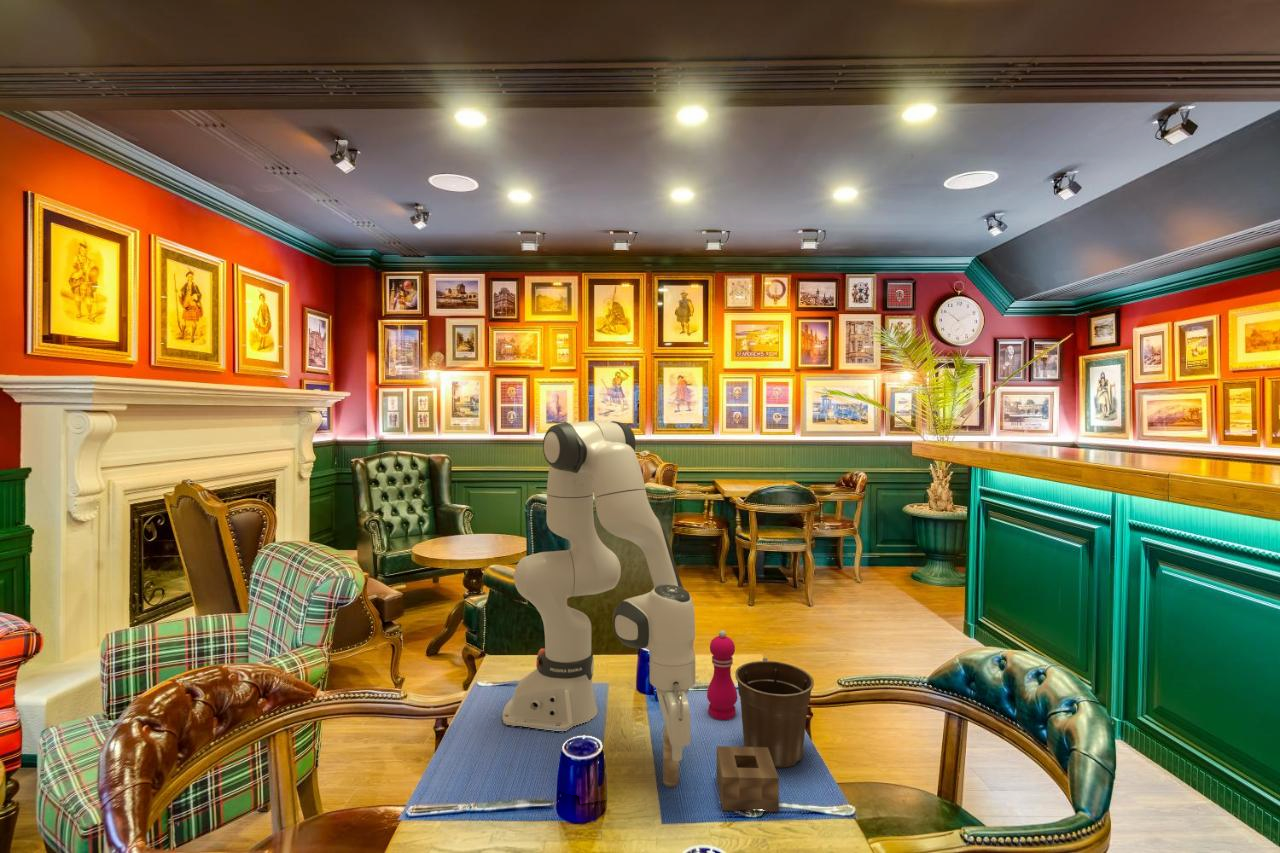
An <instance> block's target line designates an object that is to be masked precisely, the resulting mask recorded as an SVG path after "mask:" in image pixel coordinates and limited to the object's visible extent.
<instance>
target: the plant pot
mask: <svg viewBox="0 0 1280 853" xmlns="http://www.w3.org/2000/svg"><path fill="white" fill-rule="evenodd" d="M734 672H735V673H734V674H735V680H736V681H737V689H738V692H737V693H738V696H739V698H740V699H739V700H740V709H741V721H742V722H741V723H742V724H741V725H742V736H743V737H742V738H743V747H768V749H769V752H770V755H771V758H772V760H773V763H774V766H775V769H776V768H778V769H781V768H789V767H793V766H795V765H796V764H797V763H798V762H800V761H802V759H803V754H804V742H805V732H806V724H807V715H808V707H809V705H810V701H811V696H812V695H811V694H812V693H811V692H812V690H813V688H814V686H815V681H814V678H813V676H812V675H811V674H810V673H809V672H807V671H806V670H804V669H802V668H800V667H798V666H795V665H793V664H789V663H785V662H781V661H773V660H772V661H771V660H768V661H763V660H761V661H760V660H758V661H757V660H756V661H751V662H747V663H743V664H741V665H740V666H738V667H737V669H736V670H735V671H734Z"/></svg>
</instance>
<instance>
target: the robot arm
mask: <svg viewBox="0 0 1280 853" xmlns="http://www.w3.org/2000/svg"><path fill="white" fill-rule="evenodd" d="M545 432H546V433H545V434H544V437H543V442H542V451H543V452H542V453H543V455H544V459H545V460H546V462H547V463H548V465H549V469H548V473H547V474H548V476H547V485H546V519H545V520H546V525H547V527H548V529H549V530H550V532H552V533H553V534H555V535H557V536H559V537H561V538H563V539H565V540H568V541H569V542H570V549H566V550H554V551H541V552H537V553H533V554H530V555H526V556H523V557H522V558H520V559H519V561H518V563H516V567H515V569H514V574H513V580H514V585H515V588H516V590H517V592H518V594H520V596H521V597H523V598H524V599H525V600H527V601H528V602H530V603H531V604H532V605H533V606H534V608H536V610H537V611H538V613H539V615H540V616H541V620H542V622H543V623H542V624H543V631H544V644H545V645H544V648H540V649H539V650H538V653H537V657H536V662H535V664H536V666H535V667H536V668H535V669H534V670H532V671H531V672H530V673H528V674H527V675H526V676H525V677H523V678H522V679H521V680H520V681H519V683H518V684H517V685H516V688H515V689H514V691H513V692H514V693H513V696H512V697H511V699H510V700H509V701H507V703H506V704H505V706H504V707H503V708H504V709H503V711H502V715H501V716H502V717H501V721H502V720H503V721H502V723H503V722H504V723H505V724H507V725H515V726H525V727H532V728H540V729H541V728H542V729H550V730H551V729H552V730H561V731H564V730H568V729H570V728H571V727H573V726H575V727H577V726H576V725H578V726H580V725H579V724H581V725H583V724H582V723H584V724H586V723H588V722H590V721H592V720H593V719H594V718H595V717H597V715H598V712H599V710H598V709H599V708H598V706H597V702H596V697H595V693H594V685H593V675H594V653H593V651H592V622H591V620H590V618H589V617H588V615H587V614H585V613H584V612H582V611H580V610H578V609H576V608H573V607H570V606H569V605H568V599H569V598H572V597H580V596H581V597H582V596H590V595H599V594H601V593H605V592H607V591H608V592H609V591H610V590H614V589H615V588H616V586H617V585H618V583H619V581H620V578H621V574H622V573H621V571H622V569H621V568H622V566H621V563H620V560H619V558H618V556H617V554H616V553H614V552H613V550H611V549H609V547H607V546H606V545H605V544H604V543H603V542H602V540H601V539H600V537H599V535H598V533H597V530H596V527H595V521H594V519H595V518H594V505H595V511H596V516H597V518H598V522H599V524H600V525H601V526H602V527H603V528H604V530H605V531H607V532H608V533H609V534H612V535H613V536H614V537H615V536H616V537H617V538H620V539H623V540H626V541H629V542H631V543H633V544H635V545H636V546H638V547H639V548H640V549H641V551H642V552H643V554H644V557H645V559H646V564H647V567H648V569H649V573H650V577H651V580H652V583H653V589H651V591H649V592H647V593H644V594H640V595H637V596H632V597H629V598H626V599H624V600H621V601H620V602H618V603H617V605H616V606H615V608H614V610H613V614H612V628H613V632H614V634H615V636H616V638H617V639H618V641H619V642H620V643H622V644H623V645H624V646H625V647H628V648H634V649H647V650H648V651H649V684H651V686H653V687H654V688H656V689H655V691H656V695H657V701H658V703H659V707H660V711H661V714H662V718H663V722H664V728H666V730H667V733H668V737H669V741H670V744H671V746H672V747H671V755H672V759H673V760H674V761H679V762H680V761H682V760H683V750H684V747H688V746H689V745H690V743H691V741H692V740H691V738H692V737H691V731H692V730H691V711H690V704H689V700H688V697H687V694H688V693H689V692H690V688H693V686H695V684H696V654H695V649H694V641H695V639H696V616H695V606H694V601H693V598H692V595H691V594H690V592H689V591H687V589H685V588H684V587H683V584H682V581H681V578H680V575H679V572H678V568H677V565H676V561H675V558H674V554H673V551H672V548H671V545H670V541H669V538H668V535H667V532H666V528H664V527H665V526H664V525H663V523H662V521H661V520H660V518H659V517H658V516H656V515H655V512H654V510H653V509H652V506H651V504H650V501H649V498H648V495H647V491H646V490H647V489H646V485H645V480H644V476H643V473H642V472H643V471H642V468H641V465H640V462H639V459H638V457H637V454H636V446H637V445H636V442H637V441H636V437H635V433H634V431H633V429H632V428H631V426H629V425H628V424H626V423H623V422H620V421H615V420H613V421H612V420H611V421H608V420H607V421H606V420H605V421H603V420H587V421H577V422H570V423H569V422H562V423H561V422H560V423H556V424H554V425H551V426H550V427H549V428H548V429H547V431H545ZM591 719H592V720H591ZM585 722H586V723H585ZM504 723H503V724H504ZM505 724H504V725H505ZM507 725H506V726H507ZM557 726H559V727H557ZM573 728H574V727H573ZM571 729H572V728H571ZM571 729H570V730H571ZM568 731H569V730H568Z"/></svg>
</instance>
